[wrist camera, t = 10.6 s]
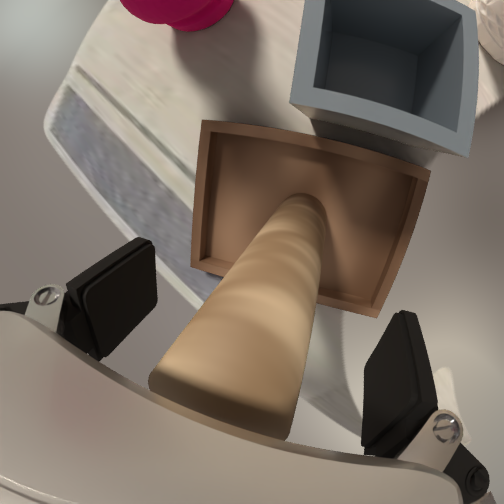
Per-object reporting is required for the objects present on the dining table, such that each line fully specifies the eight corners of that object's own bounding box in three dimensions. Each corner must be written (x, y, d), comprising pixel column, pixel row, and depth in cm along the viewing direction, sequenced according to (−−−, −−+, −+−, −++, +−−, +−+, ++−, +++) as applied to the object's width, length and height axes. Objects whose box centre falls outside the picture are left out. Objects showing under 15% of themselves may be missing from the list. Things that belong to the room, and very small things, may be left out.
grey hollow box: (424, 54, 12) (475, 10, 4) (412, 146, 15) (468, 158, 8) (323, 26, 14) (310, -40, 6) (309, 118, 17) (288, 102, 9)
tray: (423, 167, 16) (431, 170, 14) (374, 305, 21) (376, 318, 20) (212, 120, 19) (201, 119, 17) (199, 257, 24) (190, 266, 23)
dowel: (331, 199, 18) (311, 400, 4) (320, 245, 20) (272, 459, 6) (282, 188, 19) (138, 339, 5) (274, 233, 21) (157, 417, 7)
